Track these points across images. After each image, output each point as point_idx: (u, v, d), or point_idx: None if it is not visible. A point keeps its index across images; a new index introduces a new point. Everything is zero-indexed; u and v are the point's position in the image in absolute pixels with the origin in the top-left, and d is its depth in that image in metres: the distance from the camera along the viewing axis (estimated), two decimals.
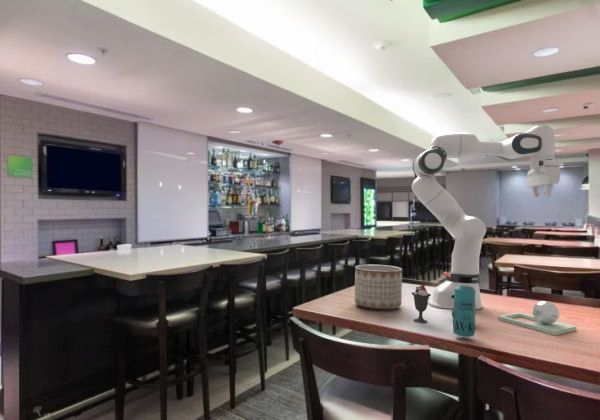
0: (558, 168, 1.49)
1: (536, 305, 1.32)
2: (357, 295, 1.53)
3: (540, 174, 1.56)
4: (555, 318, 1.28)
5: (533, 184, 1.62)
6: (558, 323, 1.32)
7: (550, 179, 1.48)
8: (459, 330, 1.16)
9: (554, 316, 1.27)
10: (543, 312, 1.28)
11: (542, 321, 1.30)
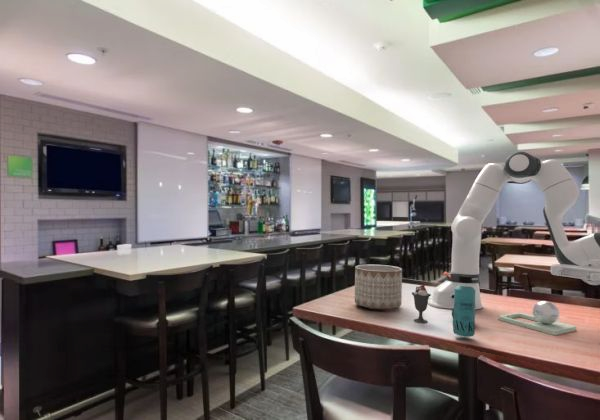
0: None
1: (536, 305, 1.32)
2: (357, 295, 1.53)
3: (594, 269, 1.26)
4: (555, 318, 1.28)
5: (571, 266, 1.29)
6: (558, 323, 1.32)
7: None
8: (459, 330, 1.16)
9: (554, 316, 1.27)
10: (543, 312, 1.28)
11: (542, 321, 1.30)
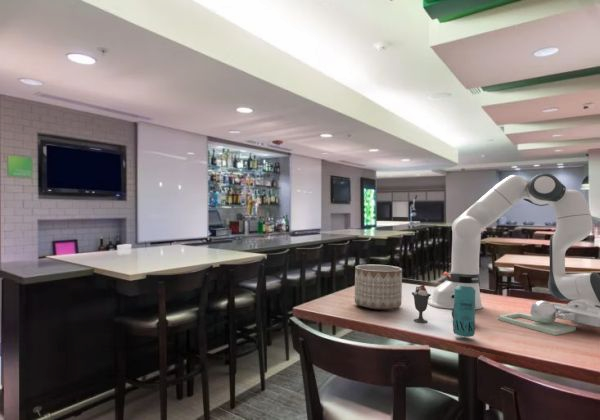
0: None
1: (533, 306, 1.32)
2: (357, 295, 1.53)
3: (580, 310, 1.29)
4: (553, 316, 1.28)
5: (558, 307, 1.32)
6: (558, 323, 1.32)
7: None
8: (459, 330, 1.16)
9: (551, 314, 1.28)
10: (540, 311, 1.29)
11: (541, 321, 1.30)
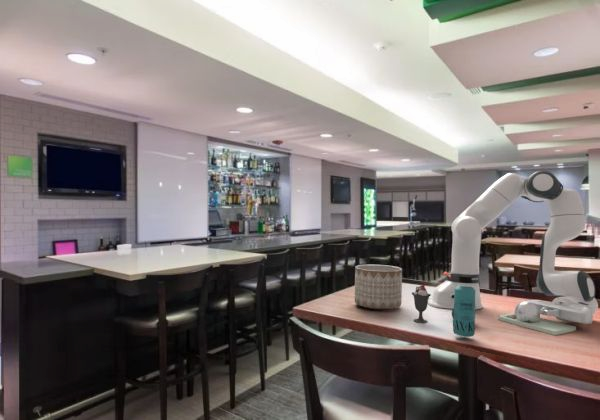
0: (590, 320, 1.28)
1: None
2: (357, 295, 1.53)
3: (564, 307, 1.33)
4: (528, 305, 1.33)
5: (543, 304, 1.36)
6: (558, 323, 1.32)
7: (585, 313, 1.25)
8: (459, 330, 1.16)
9: (526, 305, 1.33)
10: (520, 312, 1.33)
11: (532, 316, 1.31)
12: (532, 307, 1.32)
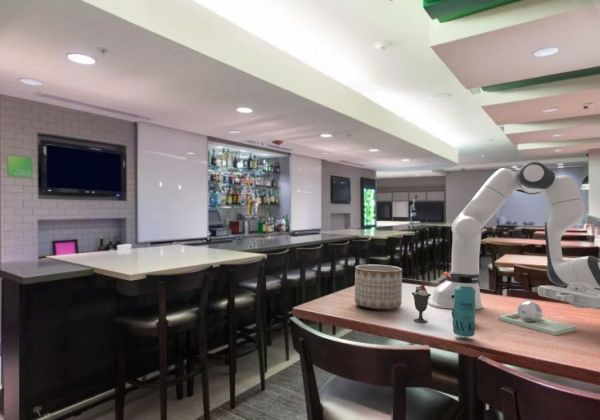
0: None
1: (520, 314, 1.36)
2: (357, 295, 1.53)
3: (580, 292, 1.29)
4: (535, 303, 1.35)
5: (557, 289, 1.32)
6: (558, 323, 1.32)
7: None
8: (459, 330, 1.16)
9: (532, 303, 1.35)
10: (526, 308, 1.34)
11: (538, 314, 1.32)
12: (538, 305, 1.34)
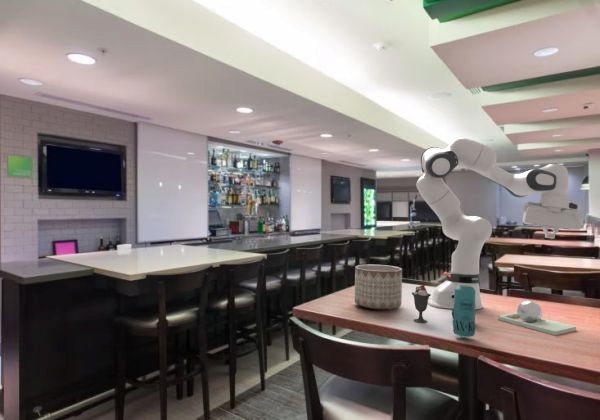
0: None
1: (520, 313, 1.36)
2: (357, 295, 1.53)
3: (558, 215, 1.48)
4: (534, 302, 1.36)
5: (543, 223, 1.49)
6: (558, 323, 1.32)
7: None
8: (459, 330, 1.16)
9: (531, 301, 1.36)
10: (526, 306, 1.35)
11: (537, 312, 1.33)
12: (537, 304, 1.35)
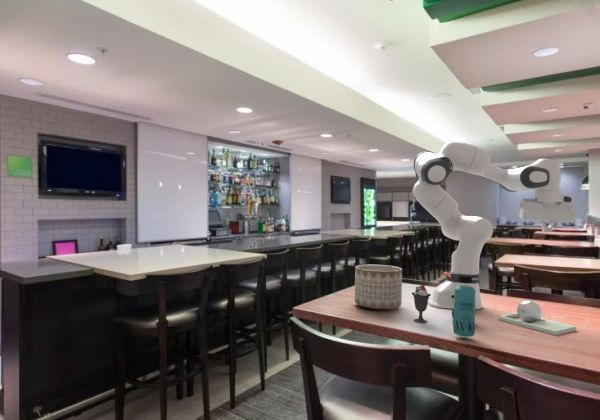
0: None
1: (519, 312, 1.37)
2: (357, 295, 1.53)
3: (554, 209, 1.50)
4: None
5: (540, 218, 1.51)
6: (558, 323, 1.32)
7: (575, 217, 1.49)
8: (459, 330, 1.16)
9: (531, 301, 1.37)
10: (525, 304, 1.36)
11: (537, 310, 1.34)
12: (536, 303, 1.36)
